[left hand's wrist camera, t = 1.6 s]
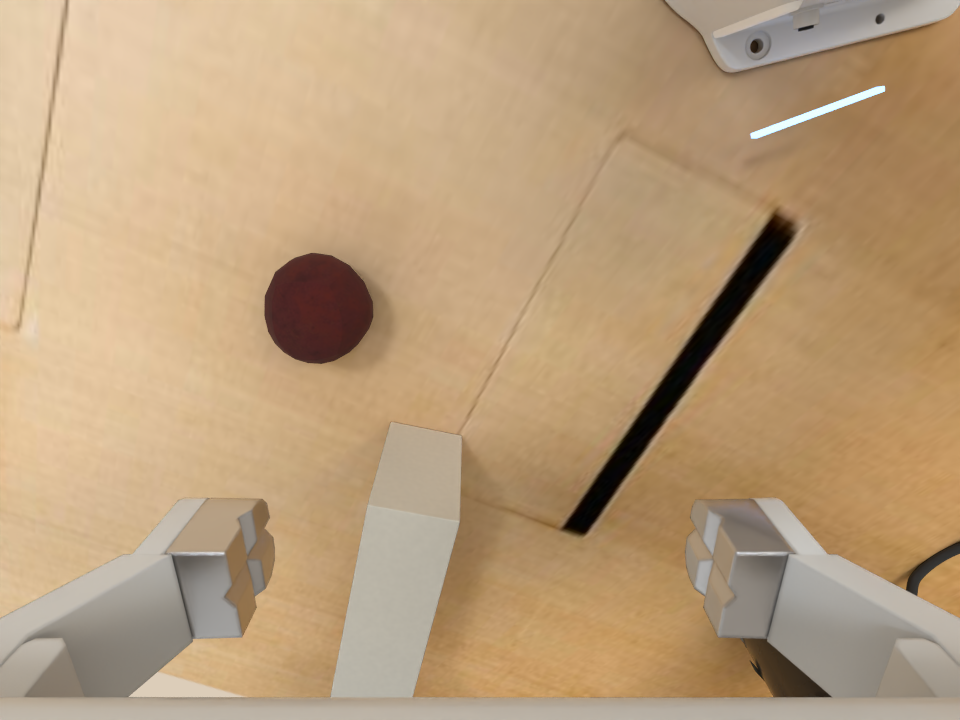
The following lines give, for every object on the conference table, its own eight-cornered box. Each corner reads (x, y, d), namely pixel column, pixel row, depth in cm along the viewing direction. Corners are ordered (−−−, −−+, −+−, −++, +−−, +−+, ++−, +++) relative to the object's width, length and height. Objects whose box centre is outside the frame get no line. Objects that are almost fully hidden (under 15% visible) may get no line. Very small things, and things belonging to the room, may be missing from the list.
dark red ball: (292, 345, 44) (261, 381, 38) (274, 247, 41) (237, 268, 35) (384, 340, 44) (369, 375, 38) (372, 242, 41) (354, 262, 35)
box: (390, 421, 47) (367, 504, 36) (462, 435, 48) (460, 521, 37) (345, 648, 57) (316, 768, 46) (405, 658, 57) (390, 778, 47)
